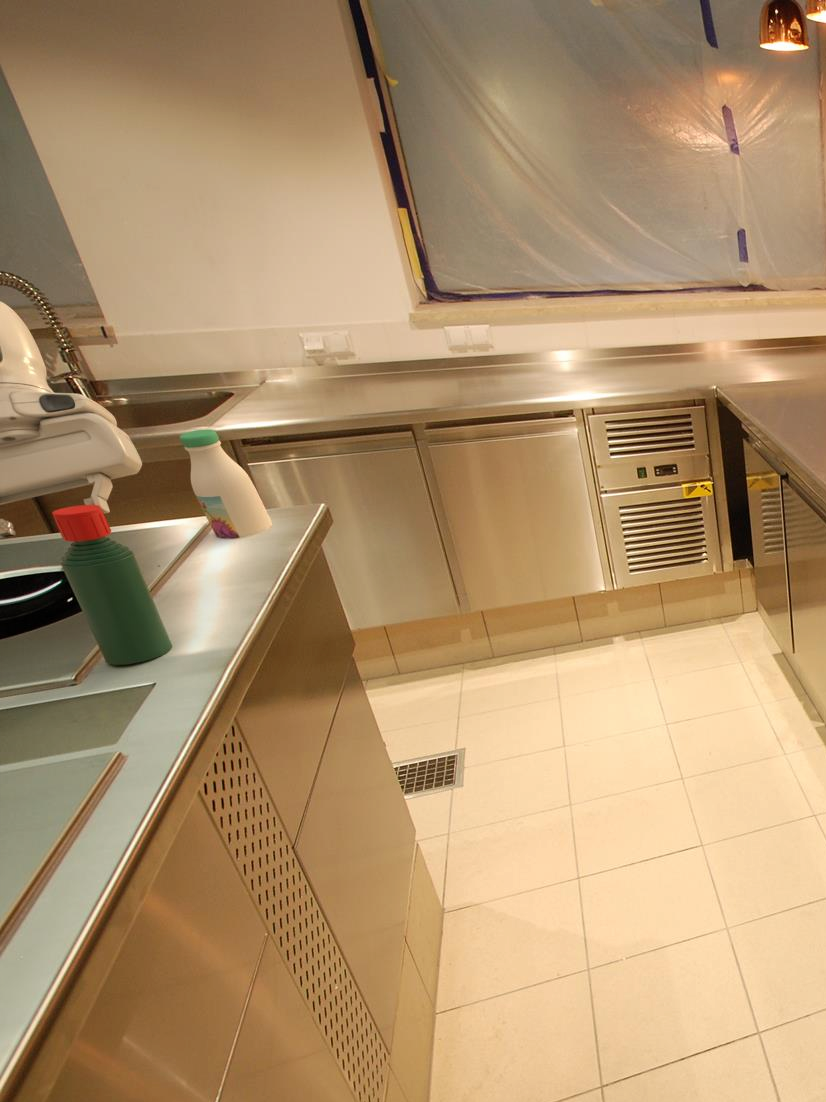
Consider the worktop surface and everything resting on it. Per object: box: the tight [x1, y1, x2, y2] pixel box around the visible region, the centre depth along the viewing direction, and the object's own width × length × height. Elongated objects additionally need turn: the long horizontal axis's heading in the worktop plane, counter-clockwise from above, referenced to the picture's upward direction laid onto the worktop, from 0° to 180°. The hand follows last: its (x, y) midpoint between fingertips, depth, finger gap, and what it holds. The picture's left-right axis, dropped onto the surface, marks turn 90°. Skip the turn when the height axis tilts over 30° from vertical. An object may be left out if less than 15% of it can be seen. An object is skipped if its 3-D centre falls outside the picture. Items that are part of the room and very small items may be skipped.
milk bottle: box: [179, 429, 273, 540], centre depth 137 cm, size 8×8×20 cm
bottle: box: [60, 536, 173, 666], centre depth 103 cm, size 6×6×18 cm
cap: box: [51, 504, 112, 543], centre depth 99 cm, size 4×4×3 cm
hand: (52, 524), depth 103 cm, fingers open, 8 cm apart
